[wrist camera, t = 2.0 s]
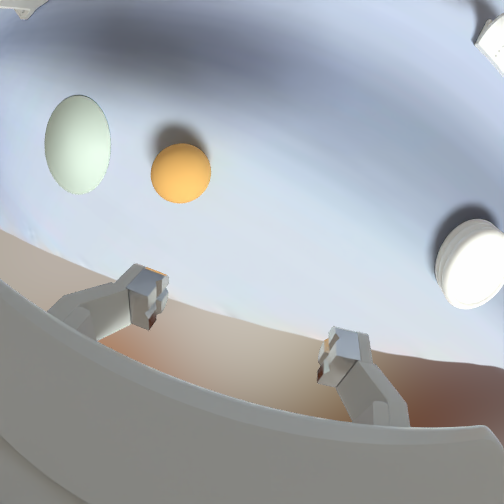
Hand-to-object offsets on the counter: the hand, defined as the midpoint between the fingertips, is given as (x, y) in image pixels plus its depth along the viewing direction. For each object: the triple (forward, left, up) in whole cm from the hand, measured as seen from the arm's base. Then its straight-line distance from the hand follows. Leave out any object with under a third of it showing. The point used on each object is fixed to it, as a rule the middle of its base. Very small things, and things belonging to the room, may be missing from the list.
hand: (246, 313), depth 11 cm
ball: (-9, -4, -15) cm, 17 cm away
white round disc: (+20, +10, -18) cm, 29 cm away
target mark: (-24, -11, -17) cm, 32 cm away
